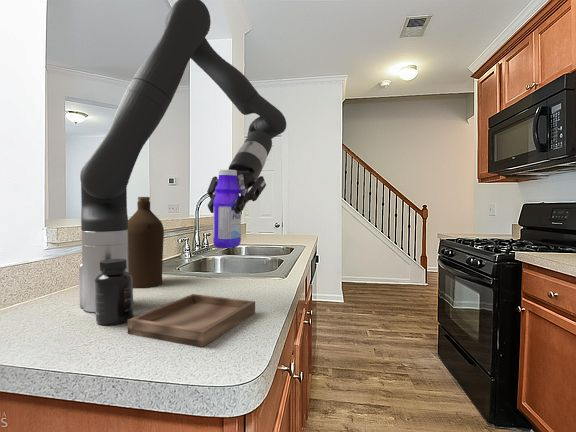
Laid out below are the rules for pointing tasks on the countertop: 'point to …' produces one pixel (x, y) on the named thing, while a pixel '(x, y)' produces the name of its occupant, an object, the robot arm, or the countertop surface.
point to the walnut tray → (192, 319)
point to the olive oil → (145, 246)
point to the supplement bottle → (113, 293)
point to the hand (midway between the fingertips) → (223, 210)
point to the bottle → (226, 211)
